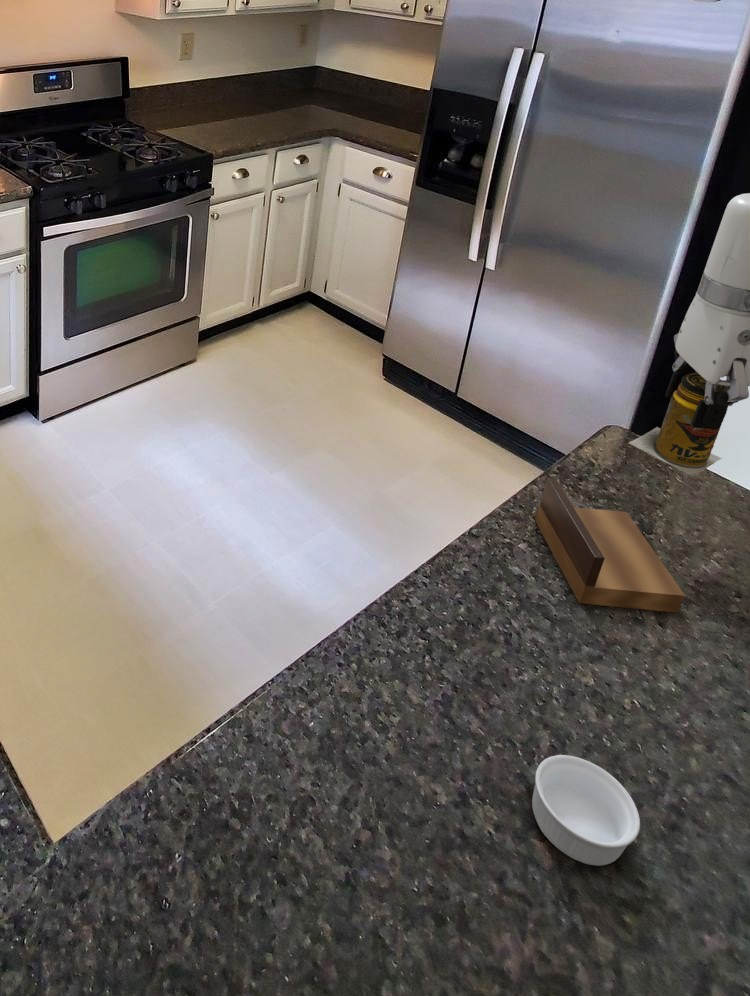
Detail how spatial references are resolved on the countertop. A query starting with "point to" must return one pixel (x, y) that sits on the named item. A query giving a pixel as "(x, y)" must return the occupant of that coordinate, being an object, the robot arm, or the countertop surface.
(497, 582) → the countertop surface
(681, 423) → the condiment
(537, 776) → the ramekin
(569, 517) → the shelf
